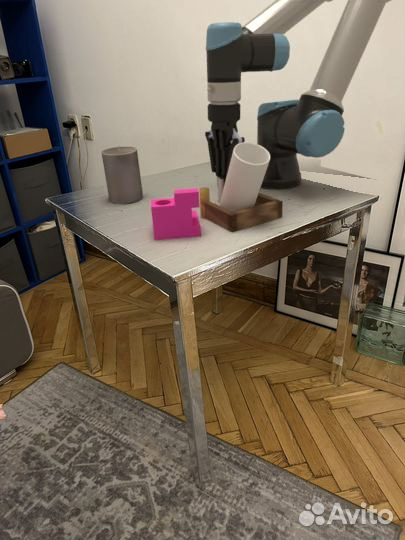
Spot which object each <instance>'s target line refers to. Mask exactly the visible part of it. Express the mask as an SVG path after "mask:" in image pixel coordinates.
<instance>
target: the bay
mask: <svg viewBox="0 0 405 540" xmlns="http://www.w3.org/2000/svg"><path fill="white" fill-rule="evenodd" d="M198 191H199V206H200V207H199V208H200V218H202V219H206V220H208V221H210V222H211V223H213V224H215V225H217V226H219V227H221V228H223V229H225V230H227V231H229V232H231V233H234V232H237V231H239V230H240V231H241V230H243V229H247V228H250V227H253V226H257V225H260V224H264V223H266V222H270V221H274V220H277V219H281V218H282V217H283V207H284V203H283V202H284V201H283V200H280V199H279V198H276V197H272V196H270V195H267V194H264V193H261V192H259V193H258V196H257V199H256V202H255V205H254V207H250V208H246V209H242V210H239V211H235V212H232V211H230V210H227V209H225V208H223V207H221V206H219V205H220V204H218V203H217V204H216V203H214V202H212V201H211V195H210V193H211V192H210V188H209V187H200V188H198Z"/></svg>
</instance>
